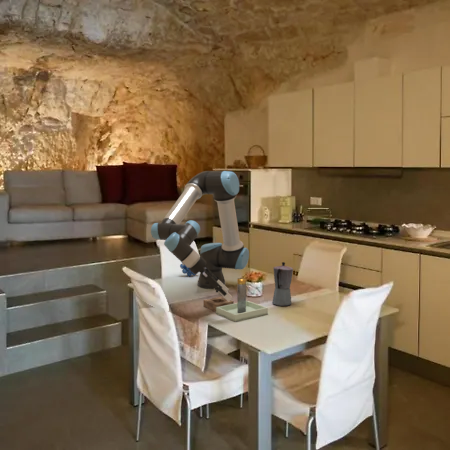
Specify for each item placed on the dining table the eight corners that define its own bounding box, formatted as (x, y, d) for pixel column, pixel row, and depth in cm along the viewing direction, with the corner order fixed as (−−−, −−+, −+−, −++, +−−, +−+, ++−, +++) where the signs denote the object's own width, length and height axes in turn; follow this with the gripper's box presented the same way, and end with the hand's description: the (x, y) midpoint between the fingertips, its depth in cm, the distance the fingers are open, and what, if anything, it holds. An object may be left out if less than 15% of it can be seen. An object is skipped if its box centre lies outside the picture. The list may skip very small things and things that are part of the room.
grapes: (181, 278, 287) (181, 258, 286) (179, 276, 294) (178, 256, 292) (201, 277, 291) (201, 257, 290) (198, 274, 298) (197, 255, 296)
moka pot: (295, 301, 240) (296, 260, 238) (288, 309, 226) (289, 266, 224) (275, 299, 244) (276, 259, 241) (268, 307, 229) (268, 265, 227)
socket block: (220, 302, 237) (220, 296, 237) (233, 307, 229) (233, 301, 229) (203, 306, 231) (203, 300, 231) (215, 311, 223) (215, 305, 223)
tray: (247, 307, 230) (247, 300, 230) (267, 314, 219) (267, 307, 219) (216, 313, 220) (216, 307, 219) (235, 321, 208) (235, 315, 208)
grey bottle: (242, 310, 222) (242, 277, 220) (247, 312, 219) (247, 279, 217) (235, 312, 220) (235, 278, 218) (240, 314, 217) (240, 280, 215)
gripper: (186, 262, 226) (219, 294, 230) (189, 274, 201) (226, 309, 205) (198, 251, 226) (230, 282, 230) (202, 261, 201) (239, 296, 205)
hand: (228, 295), depth 217 cm, fingers open, 13 cm apart
